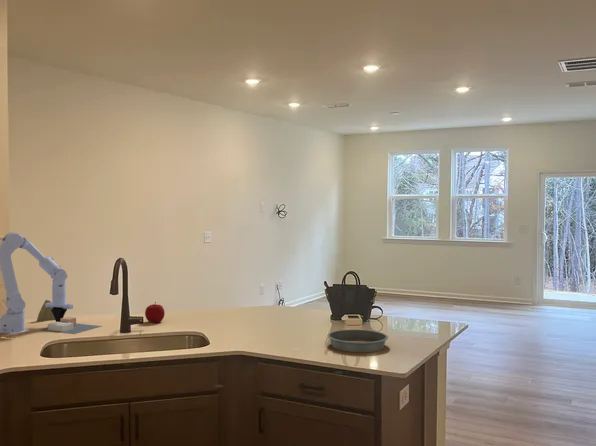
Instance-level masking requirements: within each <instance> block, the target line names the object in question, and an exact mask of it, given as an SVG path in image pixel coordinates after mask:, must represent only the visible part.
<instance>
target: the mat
mask: <svg viewBox="0 0 596 446" xmlns="http://www.w3.org/2000/svg"><path fill="white" fill-rule="evenodd" d="M101 327H103V325H93V324H86V323H85V324H84V323H76V326H75V327H73V329H71V330H68V331H64V332H63V331H53V330H48V327H46V328H42V329H40V331H43V332H49V333H52V332H53V333H60V334H70V335H76V334H81V333H84V332H87V331H90V330H94V329H97V328H101Z"/></svg>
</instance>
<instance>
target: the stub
mask: <svg viewBox="0 0 596 446" xmlns="http://www.w3.org/2000/svg"><path fill="white" fill-rule="evenodd" d="M60 322H68V323H73V327H75V326H76V324H77V317H74V316H73V317H72V316H64V317H63V318H61V319H60Z"/></svg>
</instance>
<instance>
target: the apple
mask: <svg viewBox="0 0 596 446" xmlns="http://www.w3.org/2000/svg"><path fill="white" fill-rule="evenodd" d="M144 315H145V318H146V320H147V321H148V322H149V323H153V324H154V323H160V322H162V321H163V320H164V317H165V309H164V307H163V306H162V305H161V304H156V301H155V302H154V303H153V304H152V303H151V304H150V305H148V306H147V307H146V308H145V311H144Z"/></svg>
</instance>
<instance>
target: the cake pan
mask: <svg viewBox="0 0 596 446" xmlns="http://www.w3.org/2000/svg"><path fill="white" fill-rule="evenodd" d="M327 338H329V340H330V344H331V347H333V349H336V350H338V351H343V352H351V353H371V352H372V353H373V352H377V351H381V350H383V349H384V348H385V343H386V341H388V339H389V336H388V335H387V334H386V333H384V332H382V331H381V332H380V331H376V330H375V331H374V330H368V329H354V328H353V329H339V330H333V331H331V332H329V333H328V334H327ZM351 340H352V341H351ZM353 340H354V341H353ZM355 340H356V341H355Z"/></svg>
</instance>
